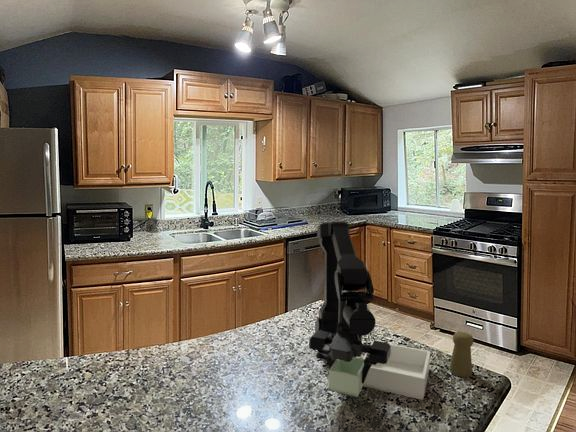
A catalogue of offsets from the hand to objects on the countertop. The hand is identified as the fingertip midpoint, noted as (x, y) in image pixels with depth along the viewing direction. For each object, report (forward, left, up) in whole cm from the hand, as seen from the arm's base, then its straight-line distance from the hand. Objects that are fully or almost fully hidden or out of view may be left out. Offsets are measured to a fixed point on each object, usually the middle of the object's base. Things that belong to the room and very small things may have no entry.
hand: (348, 379), depth 102 cm
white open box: (+9, +15, -5) cm, 18 cm away
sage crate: (0, 0, -1) cm, 1 cm away
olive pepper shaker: (+25, +26, -5) cm, 36 cm away
